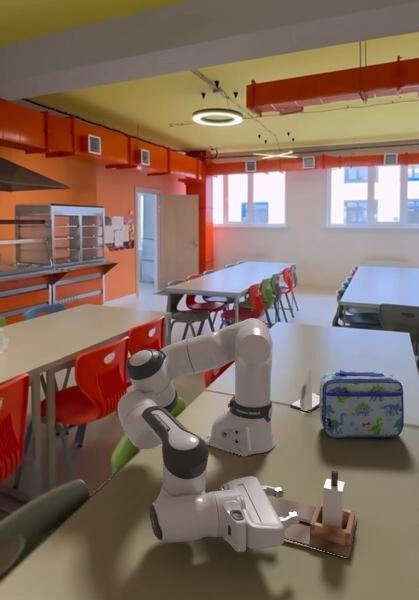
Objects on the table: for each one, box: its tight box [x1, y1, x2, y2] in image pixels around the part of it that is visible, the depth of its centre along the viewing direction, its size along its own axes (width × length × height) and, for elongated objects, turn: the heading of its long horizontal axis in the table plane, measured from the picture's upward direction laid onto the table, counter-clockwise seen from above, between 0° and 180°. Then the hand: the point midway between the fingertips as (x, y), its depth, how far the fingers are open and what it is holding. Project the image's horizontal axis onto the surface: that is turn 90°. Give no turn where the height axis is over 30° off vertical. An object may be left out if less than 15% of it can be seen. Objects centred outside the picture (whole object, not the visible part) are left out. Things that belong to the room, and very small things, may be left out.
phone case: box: [289, 392, 320, 412], centre depth 180 cm, size 9×2×16 cm
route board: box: [271, 496, 358, 559], centre depth 108 cm, size 20×14×4 cm
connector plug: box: [322, 470, 346, 529], centre depth 105 cm, size 4×4×14 cm
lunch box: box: [319, 369, 405, 439], centre depth 153 cm, size 26×11×21 cm, turn 84°
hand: (289, 504), depth 103 cm, fingers open, 8 cm apart
